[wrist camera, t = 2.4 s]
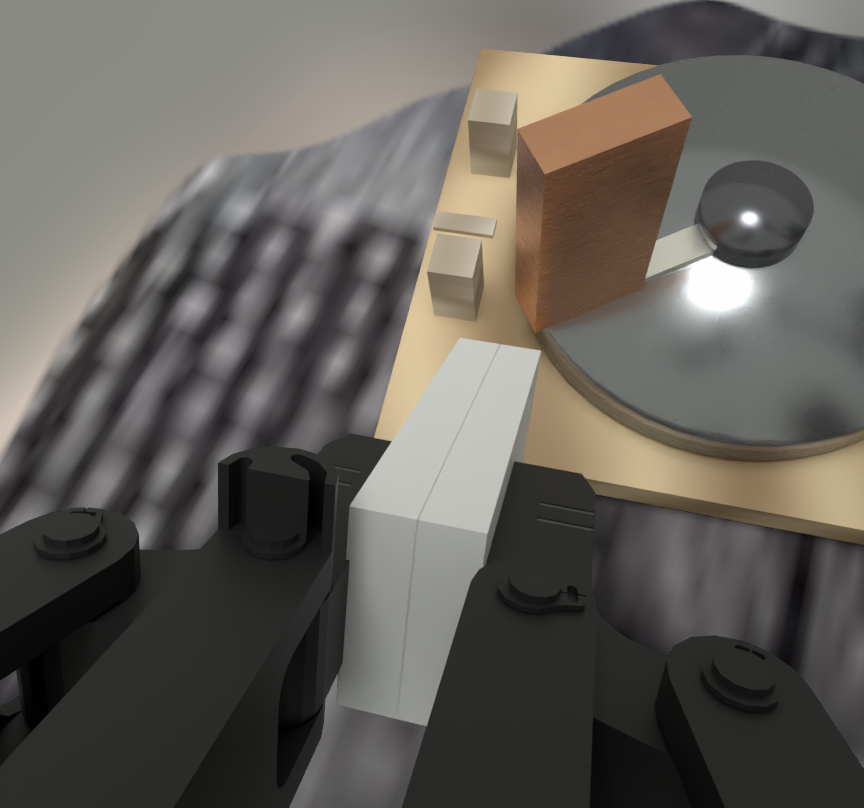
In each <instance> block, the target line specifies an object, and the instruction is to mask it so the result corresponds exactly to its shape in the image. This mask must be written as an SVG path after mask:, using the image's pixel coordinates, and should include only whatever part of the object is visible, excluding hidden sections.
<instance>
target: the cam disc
mask: <svg viewBox="0 0 864 808" xmlns="http://www.w3.org/2000/svg"><path fill="white" fill-rule="evenodd" d="M515 297H516V299H517V301H518V302H519V304H520V306H521V308H522V310H523V312H524V314H525V316H526V317H527V319H528V321H529V323H530V325H531V327H532V329H533V331H534V333H535V335H536V337H537V339H538V340H539V342H540V344H541V345H542V347H543V348H544V350H545V352H546V353H547V355H548V356H549V358H550V359H551V361H552V362H553V363H554V364H555V365H556V367H557V368H558V369H559V370H560V371H561V373H562V374H563V375H564V376H565V377H566V379H567V380H568V381H569V382H570V383H571V384H572V385H573V386H574V387H576V388H577V389H578V390H579V391H580V392H581V393H582V394H583V395H584V396H585V397H586V398H587V399H589V400H590V401H591V402H592V403H594V404H595V405H597V406H598V407H599V408H601V409H602V410H604V411H605V412H606V413H608V414H609V415H610V416H612V417H613V418H615V419H617V420H618V421H620V422H622V423H624V424H626V425H628V426H629V427H631V428H633V429H635V430H637V431H638V432H640V433H642V434H645V435H647V436H650V437H652V438H655V439H657V440H660V441H662V442H664V443H667V444H669V445H672V446H676V447H679V448H683V449H687V450H690V451H694V452H697V453H701V454H706V455H713V456H719V457H726V458H732V459H749V460H776V459H788V458H800V457H805V456H810V455H814V454H819V453H824V452H829V451H832V450H835V449H838V448H841V447H844V446H847V445H849V444H852V443H855V442H858V441H860V440H862V439H864V84H863V83H861V82H859V81H857V80H855V79H852V78H849V77H846V76H844V75H841V74H838V73H836V72H833V71H830V70H827V69H824V68H820V67H816V66H812V65H809V64H805V63H801V62H796V61H790V60H784V59H778V58H772V57H760V56H747V55H730V56H709V57H700V58H691V59H685V60H681V61H676V62H671V63H667V64H662V65H659V66H656V67H653V68H650V69H647V70H643V71H640V72H637V73H635V74H633V75H631V76H628V77H626V78H624V79H622V80H619V81H617V82H615V83H613V84H611V85H610V86H608V87H606V88H605V89H603V90H601V91H599V92H598V93H596V94H594V95H593V96H591V97H590V98H589V99H587V100H586V101H585V102H584V103H582V104H581V105H578V106H576V107H573V108H571V109H568V110H565V111H563V112H560V113H557V114H555V115H552V116H550V117H547V118H544V119H542V120H539V121H537V122H534V123H531V124H529V125H526V126H523V127H521V128H518V129H517V191H516V262H515Z"/></svg>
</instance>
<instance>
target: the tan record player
mask: <svg viewBox="0 0 864 808" xmlns="http://www.w3.org/2000/svg"><path fill="white" fill-rule="evenodd" d="M656 66H658V65H647V64H637V63H626V62H616V61H605V60H595V59H584V58H574V57H563V56H553V55H543V54H532V53H521V52H511V51H501V50H490V49H481V50H480V54H479V58H478V61H477V65H476V69H475V73H474V76H473V80H472V83H471V87H470V91H469V94H468V98H467V101H466V105H465V109H464V112H463V116H462V120H461V123H460V127H459V131H458V134H457V138H456V142H455V145H454V149H453V152H452V156H451V160H450V163H449V167H448V171H447V174H446V178H445V182H444V185H443V189H442V192H441V196H440V200H439V203H438V207H437V211H436V214H435V218H434V222H433V225H432V229H431V233H430V236H429V240H428V243H427V247H426V251H425V254H424V258H423V262H422V265H421V269H420V273H419V276H418V280H417V284H416V287H415V291H414V294H413V298H412V302H411V305H410V309H409V313H408V316H407V320H406V324H405V327H404V331H403V335H402V338H401V342H400V345H399V349H398V353H397V356H396V360H395V364H394V367H393V371H392V375H391V378H390V382H389V386H388V389H387V393H386V396H385V400H384V404H383V407H382V411H381V415H380V418H379V422H378V426H377V429H376V433H375V437H374V438H377V439H382V440H388V441H392V440H393V439H394V437H395V436H396V434H397V433H398V431H399V430H400V428H401V427H402V425H403V424H404V422H405V421H406V419H407V418H408V416H409V415H410V413H411V411H412V410H413V408H414V407H415V405H416V404H417V402H418V401H419V399H420V398H421V396H422V395H423V393H424V392H425V390H426V389H427V387H428V386H429V384H430V382H431V381H432V379H433V378H434V376H435V375H436V373H437V372H438V370H439V369H440V367H441V366H442V364H443V363H444V361H445V360H446V358H447V357H448V355H449V353H450V352H451V350H452V349H453V347H454V346H455V344H456V343H457V341H458V340H459V338H465V339H471V340H478V341H484V342H490V343H496V344H503V345H509V346H515V347H521V348H528V349H534V350H540V351H541V355H540V361H539V367H538V373H537V380H536V386H535V392H534V398H533V405H532V411H531V417H530V423H529V430H528V436H527V442H526V448H525V455H524V461H523V463H527V464H532V465H538V466H543V467H549V468H554V469H559V470H565V471H570V472H576V473H581V474H582V475H583V476H584V477H585V479H586V480H587V481H588V483H589V484H590V486H591V487H592V488H593V490H594V491H595V494H597V495H603V496H608V497H613V498H618V499H624V500H629V501H634V502H640V503H645V504H650V505H655V506H661V507H666V508H671V509H676V510H682V511H687V512H692V513H698V514H703V515H708V516H713V517H719V518H724V519H729V520H735V521H740V522H745V523H750V524H756V525H761V526H766V527H771V528H777V529H782V530H787V531H793V532H798V533H803V534H808V535H814V536H819V537H824V538H830V539H835V540H840V541H845V542H851V543H856V544H861V545H864V439H862V440H860V441H858V442H855V443H852V444H849V445H847V446H844V447H841V448H838V449H835V450H832V451H829V452H824V453H819V454H814V455H810V456H805V457H800V458H788V459H776V460H749V459H732V458H726V457H719V456H713V455H706V454H701V453H697V452H694V451H690V450H687V449H683V448H679V447H676V446H672V445H669V444H667V443H664V442H662V441H660V440H657V439H655V438H652V437H650V436H647V435H645V434H642V433H640V432H638V431H637V430H635V429H633V428H631V427H629V426H628V425H626V424H624V423H622V422H620V421H618V420H617V419H615V418H613V417H612V416H610V415H609V414H608V413H606V412H605V411H604V410H602V409H601V408H599V407H598V406H597V405H595V404H594V403H592V402H591V401H590V400H589V399H587V398H586V397H585V396H584V395H583V394H582V393H581V392H580V391H579V390H578V389H577V388H576V387H574V386H573V385H572V384H571V383H570V382H569V381H568V380H567V379H566V377H565V376H564V375H563V374H562V373H561V371H560V370H559V369H558V368H557V367H556V365H555V364H554V363H553V362H552V361H551V359H550V358H549V356H548V355H547V353H546V352H545V350H544V348H543V347H542V345H541V344H540V342H539V340H538V339H537V337H536V335H535V333H534V331H533V329H532V327H531V325H530V323H529V321H528V319H527V317H526V316H525V314H524V312H523V310H522V308H521V306H520V304H519V302H518V301H517V299H516V297H515V262H516V191H517V129H518V128H521V127H523V126H526V125H529V124H531V123H534V122H537V121H539V120H542V119H544V118H547V117H550V116H552V115H555V114H557V113H560V112H563V111H565V110H568V109H571V108H573V107H576V106H578V105H581V104H582V103H584V102H585V101H586V100H587V99H589V98H590V97H591V96H593V95H594V94H596V93H598V92H599V91H601V90H603V89H605V88H606V87H608V86H610V85H611V84H613V83H615V82H617V81H619V80H622V79H624V78H626V77H628V76H631V75H633V74H635V73H637V72H640V71H643V70H647V69H650V68H653V67H656Z"/></svg>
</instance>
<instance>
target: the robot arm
mask: <svg viewBox="0 0 864 808" xmlns="http://www.w3.org/2000/svg"><path fill="white" fill-rule="evenodd" d="M540 355H541V351H540V350H534V349H528V348H521V347H515V346H509V345H503V344H496V343H490V342H484V341H478V340H471V339H465V338H459V340H458V341H457V343H456V344H455V346H454V347H453V349H452V350H451V352H450V353H449V355H448V357H447V358H446V360H445V361H444V363H443V364H442V366H441V367H440V369H439V370H438V372H437V373H436V375H435V376H434V378H433V379H432V381H431V382H430V384H429V386H428V387H427V389H426V390H425V392H424V393H423V395H422V396H421V398H420V399H419V401H418V402H417V404H416V405H415V407H414V408H413V410H412V411H411V413H410V415H409V416H408V418H407V419H406V421H405V422H404V424H403V425H402V427H401V428H400V430H399V431H398V433H397V434H396V436H395V437H394V439H393V440H392V441H388V440H382V439H377V438H371V437H366V436H361V435H355V434H348V435H346V436H344V437H342V438H339V439H337V440H335V441H333V442H331V443H328V444H326V445H325V446H324V447H323V449H322V450H321V451H320V452H319V453H318V454H315V453H311V452H308V451H305V450H301V449H295V448H285V447H265V448H253V449H249V450H246V451H242V452H238V453H235V454H232V455H230V456H229V457H227V458H225V459H224V460H222V461H220V462H219V463H218V530H217V531H216V532H215V533H214V534H213V536H212V537H211V538H210V539H209V540H208V541H207V542H206V543H205V544H204V545H203V546H202V548H201V549H195V550H140V549H139V533H138V531H137V529H136V526H135V524H134V522H133V521H131V520H130V519H128V518H126V517H125V516H123V515H122V514H120V513H116V512H112V511H108V510H103V509H97V508H88V509H85V508H71V509H68V510H63V511H57V512H51V513H48V514H46V515H43V516H40V517H37V518H35V519H32V520H29V521H27V522H25V523H23V524H21V525H19V526H16V527H14V528H12V529H10V530H8V531H6V532H4V533H2V534H0V680H2V679H3V678H5V677H6V676H8V675H9V674H11V673H12V672H14V671H15V670H16V673H17V681H18V688H19V696H17V697H16V698H14V699H13V700H11V701H10V702H8V703H6V704H3V705H1V706H0V808H289V806H290V804H291V802H292V800H293V798H294V795H295V793H296V791H297V789H298V787H299V784H300V782H301V780H302V778H303V776H304V773H305V771H306V769H307V767H308V765H309V763H310V760H311V758H312V756H313V754H314V752H315V749H316V747H317V745H318V743H319V741H320V738H321V734H322V729H323V724H324V711H325V698H326V696H327V694H328V692H329V690H330V688H331V686H332V684H333V682H334V680H335V677H336V675H337V673H338V684H337V699H336V704H337V705H341V706H345V707H349V708H353V709H357V710H362V711H366V712H370V713H374V714H378V715H382V716H386V717H390V718H394V719H399V720H403V721H407V722H411V723H415V724H419V725H423V726H427V727H426V730H425V733H424V737H423V740H422V743H421V747H420V750H419V753H418V756H417V760H416V763H415V766H414V770H413V773H412V776H411V779H410V783H409V786H408V789H407V793H406V796H405V799H404V802H403V806H402V808H864V769H863V767H862V766H861V764H860V763H859V761H858V760H857V758H856V757H855V755H854V754H853V752H852V751H851V749H850V748H849V746H848V744H847V743H846V741H845V740H844V738H843V737H842V735H841V734H840V732H839V731H838V729H837V728H836V726H835V725H834V723H833V722H832V720H831V719H830V717H829V715H828V714H827V712H826V711H825V709H824V708H823V706H822V705H821V703H820V702H819V700H818V699H817V697H816V696H815V694H814V693H813V691H812V690H811V688H810V687H809V686H808V685H807V683H806V682H805V681H804V680H803V679H802V678H801V677H800V676H799V675H798V674H797V672H796V671H795V670H794V669H793V668H792V667H790V666H789V665H787V664H786V663H784V662H783V661H781V660H780V659H778V658H777V657H775V656H774V655H772V654H771V653H769V652H768V651H765V650H763V649H761V648H759V647H756V646H753V645H751V644H749V643H746V642H743V641H741V640H735V639H730V638H725V637H719V636H701V637H691V638H689V639H687V640H685V641H683V642H681V643H679V644H677V645H675V646H674V647H673V649H672V651H671V653H670V655H669V656H668V657H666V656H664V655H661V654H659V653H657V652H655V651H652V650H650V649H648V648H645V647H643V646H641V645H639V644H637V643H636V642H634V641H632V640H630V639H628V638H626V637H624V636H623V635H622V634H620V633H619V632H618V631H616V630H615V629H614V628H612V627H611V626H610V625H609V624H608V623H607V622H606V621H605V620H604V619H603V618H602V617H601V616H600V614H599V613H598V611H597V606H596V602H595V599H594V595H593V592H592V591H591V576H592V555H593V534H594V531H593V529H594V512H595V491H594V490H593V488H592V487H591V486H590V484H589V483H588V481H587V480H586V479H585V477H584V476H583V475H582V474H581V473H576V472H570V471H565V470H559V469H554V468H549V467H543V466H538V465H532V464H527V463H523V461H524V455H525V448H526V442H527V436H528V430H529V423H530V417H531V411H532V405H533V398H534V392H535V386H536V380H537V373H538V367H539V361H540Z"/></svg>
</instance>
